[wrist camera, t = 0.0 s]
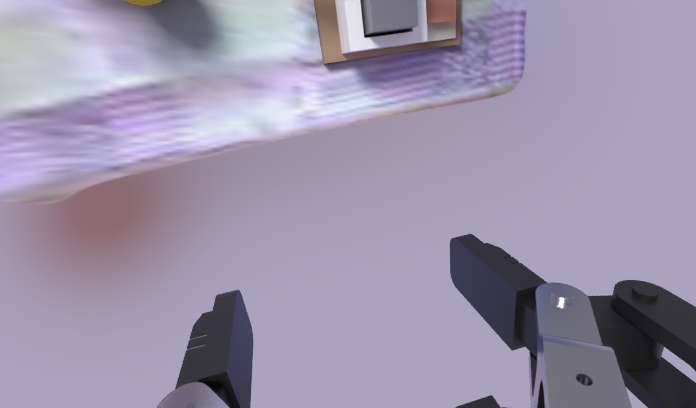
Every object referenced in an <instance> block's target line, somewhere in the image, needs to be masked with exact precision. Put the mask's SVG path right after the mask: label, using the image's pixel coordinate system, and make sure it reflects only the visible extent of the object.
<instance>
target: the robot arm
mask: <svg viewBox="0 0 696 408" xmlns="http://www.w3.org/2000/svg"><path fill="white" fill-rule="evenodd" d="M450 273H451V278H452V281H453V283H454V285H455V287H456V288H457V289H458V290H459V291H460V293H461V294H462V295H463V296H464V297H465V298H466V299H467V300H468V302H470V304H471V305H472V306H473V307H474V308H475V309H476V311H478V313H479V314H480V315H481V316H482V317H483V318H484V320H485V321H486V322H487V323H488V324H489V325H490V326H491V327H492V329H493V330H494V331H495V332H496V333H497V334H498V335H499V336H500V338H501V339H502V340H503V341H504V342H505V343H506V344H507V345H508V347H510V349H511V350H516V349H519V348H522V347H526V348H527V349H528V350H529V377H530V397H531V398H530V399H531V408H632V406H631V403H630V400H629V397H628V394H627V390H626V388H625V387H627V388H628V389H629V390H630V391H631V392H632V393H633V394H634V395H635V396H636V397H637V398H638V399H639V400H640V401H641V402H643V403H644V404H645V405H646V406H647V407H648V408H696V383H695V382H694V381H692V380H691V379H690V378H688V377H687V376H686V375H685V374H683V373H681V371H679V370H678V369H676V368H675V367H674V366H673V365H671V364H670V363H669V362H667V361H666V360H665V359H664V358H662V357H661V355H662V352H663V349H664V347H666V348H667V349H668V350H670V351H671V352H673V353H674V354H675V355H677V356H678V357H679V358H681V359H682V360H683V361H685V362H686V363H688V364H689V365H690V366H691V367H692V368H693V369H694V370H695V371H696V307H695V306H693V305H691V304H689V303H688V302H686V301H684V300H683V299H681V298H679V297H677V296H676V295H674V294H672V293H671V292H669V291H667V290H665V289H663V288H662V287H659V286H657V285H654V284H651V283H647V282H644V281H637V280H626V281H621V282H618V283H617V284H616V285H615V287H614V291H613V295H612V296H587V295H586V294H585V293H583V292H582V291H581V290H579V289H577V288H575V287H573V286H570V285H567V284H562V283H547V282H546V281H544V280H543V279H542V278H540V277H539V276H538V275H536V274H535V273H534V272H532V271H531V270H529V269H528V268H527V267H525V266H524V265H523V264H521V263H519V262H518V261H517V260H516V259H515V258H513V257H511V256H510V255H509V254H508V253H507V252H505V251H504V250H502V249H501V248H499V247H496V246H494V245H491V244H488V243H485V244H484V243H483V242H482V241H480V240H479V239H478V238H476V237H475V236H474V235H472V234H468V235H464V236H460V237H456V238H452V239H451V241H450ZM252 358H253V333H252V327H251V323H250V320H249V317H248V314H247V311H246V308H245V304H244V301H243V298H242V295H241V292H240V291H239V290H235V291H231V292H227V293H223V294H219V295H217V296H216V299H215V303H214V307H213V311H211V312H207V313H203V314H202V315H201V317H200V318H199V319H198V320H197V322H196V323H195V324H194V326H193V329H192V332H191V336H190V341H189V343H188V346H187V351H186V353H185V357H184V360H183V364H182V367H181V371H180V374H179V378H178V381H177V385H176V388H175V390H174V391H172V392H171V393H169V394H168V395H167V396H166V397H165V398H164V399H163V400H162V401H161V402H160V404H159V405H158V406H157V408H250V401H251V380H252ZM456 408H500V406H499V405H498V403H497V402H496V400H495V399H494V398H493V396H492V395H491V396H488V397H485V398H482V399H479V400H476V401H473V402H470V403H467V404H464V405H460V406H457V407H456ZM502 408H505V407H502Z"/></svg>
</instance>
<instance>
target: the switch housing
mask: <svg viewBox="0 0 696 408" xmlns="http://www.w3.org/2000/svg"><path fill="white" fill-rule="evenodd" d="M335 4H336V11H337V19H338V27H339V35H340V43H341V50H342V54H345V53H352V52H359V51H366V50H373V49H380V48H387V47H394V46H402V45H409V44H414V43H419V42H424V41H427V16H426V0H417V9H418V26H417V27H413V28H410V29H407V30H404V31H399V32H398V34H392V35H384V36H377V37H369V38H364V31H363V21H362V12H361V2H360V0H335Z"/></svg>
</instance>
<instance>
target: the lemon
mask: <svg viewBox="0 0 696 408" xmlns="http://www.w3.org/2000/svg"><path fill="white" fill-rule="evenodd" d="M124 1H126V2H128V3H132V4H136V5H140V6H150V5H153V4H157V3H159V2H160V1H162V0H124Z"/></svg>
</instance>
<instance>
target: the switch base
mask: <svg viewBox="0 0 696 408" xmlns="http://www.w3.org/2000/svg"><path fill="white" fill-rule="evenodd" d="M314 5H315V11H316V18H317V25H318V31H319V38H320V45H321V51H322V58H323V64H325V63H332V62H339V61H346V60H353V59H360V58H367V57H374V56H381V55H388V54H395V53H402V52H408V51H415V50H422V49H429V48H436V47H443V46H450V45H457V44H461V0H426V16H427V41H424V42H419V43H414V44H409V45H402V46H394V47H387V48H380V49H373V50H366V51H359V52H352V53H345V54H342V50H341V43H340V35H339V27H338V19H337V11H336V4H335V0H314ZM392 34H398V32H391V33H384V34H376V35H369V36H364V38H369V37H377V36H384V35H392Z"/></svg>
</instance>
